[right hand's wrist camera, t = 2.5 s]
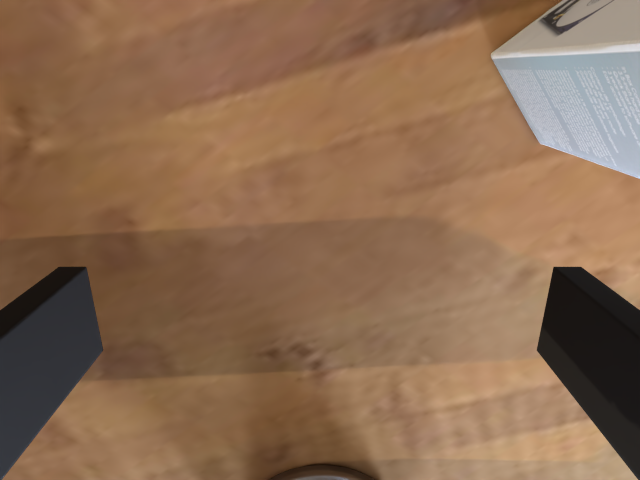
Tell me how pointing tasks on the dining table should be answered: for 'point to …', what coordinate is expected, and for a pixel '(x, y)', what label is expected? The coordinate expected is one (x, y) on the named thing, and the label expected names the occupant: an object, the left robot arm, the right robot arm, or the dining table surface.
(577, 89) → the hard drive box
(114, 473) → the dining table surface
